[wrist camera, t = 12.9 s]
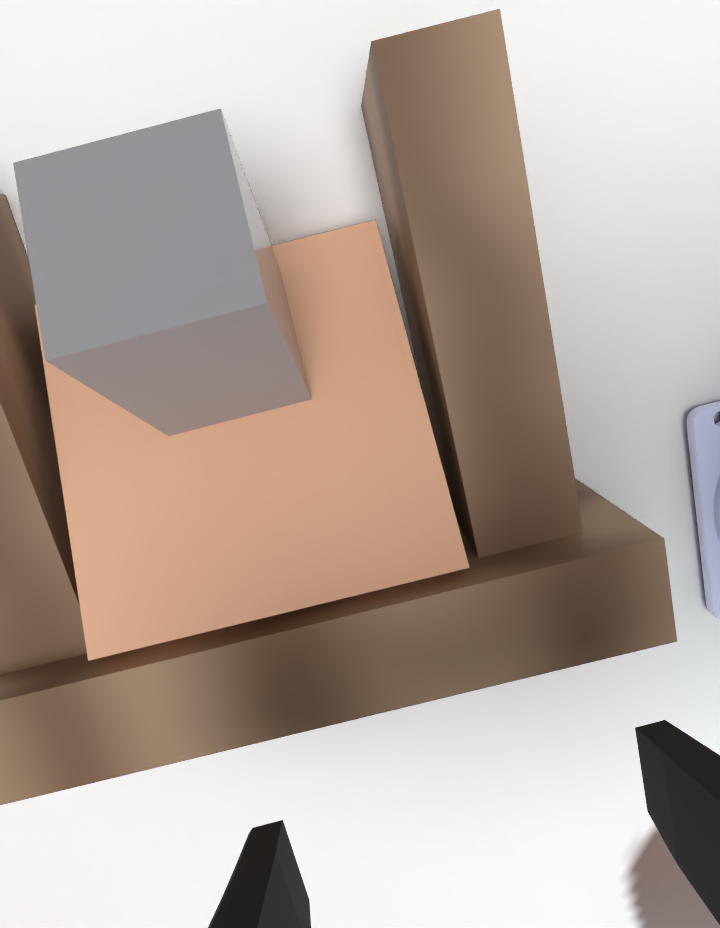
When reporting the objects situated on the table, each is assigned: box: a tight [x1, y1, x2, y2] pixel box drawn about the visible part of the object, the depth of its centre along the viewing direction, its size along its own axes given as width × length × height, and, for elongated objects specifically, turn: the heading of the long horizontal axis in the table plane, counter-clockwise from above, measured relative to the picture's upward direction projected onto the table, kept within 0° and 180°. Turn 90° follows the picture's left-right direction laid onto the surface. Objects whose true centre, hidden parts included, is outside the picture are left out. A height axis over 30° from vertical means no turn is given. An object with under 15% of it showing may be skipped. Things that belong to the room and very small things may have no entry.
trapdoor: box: [35, 220, 469, 661], centre depth 17 cm, size 10×10×1 cm
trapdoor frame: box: [0, 9, 677, 805], centre depth 17 cm, size 20×16×6 cm
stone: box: [13, 109, 312, 436], centre depth 14 cm, size 4×4×6 cm
